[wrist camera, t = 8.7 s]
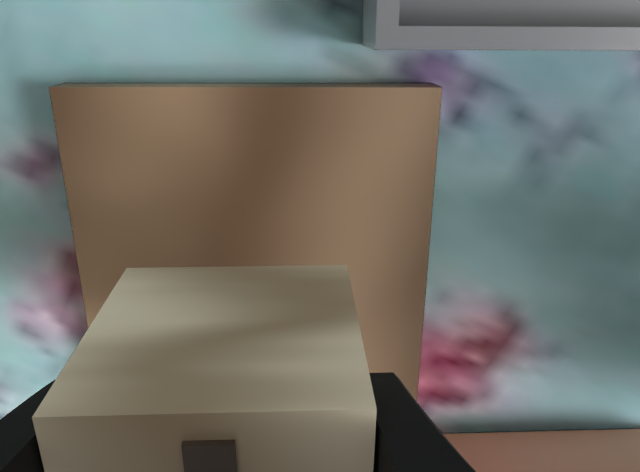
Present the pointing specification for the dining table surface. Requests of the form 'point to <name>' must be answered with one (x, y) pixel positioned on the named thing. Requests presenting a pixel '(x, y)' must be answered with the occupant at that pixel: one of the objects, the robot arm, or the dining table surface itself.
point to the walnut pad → (259, 189)
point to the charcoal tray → (501, 24)
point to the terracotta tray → (551, 450)
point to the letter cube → (216, 376)
